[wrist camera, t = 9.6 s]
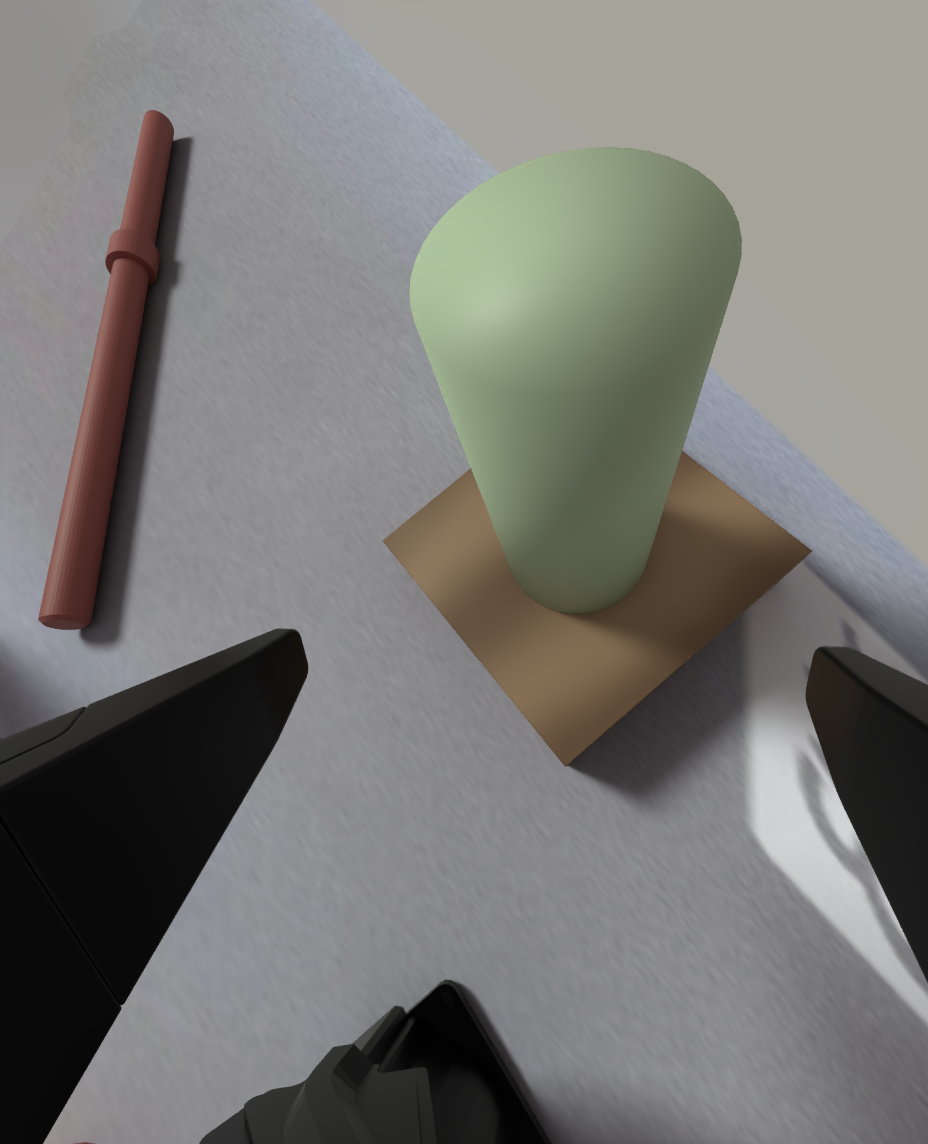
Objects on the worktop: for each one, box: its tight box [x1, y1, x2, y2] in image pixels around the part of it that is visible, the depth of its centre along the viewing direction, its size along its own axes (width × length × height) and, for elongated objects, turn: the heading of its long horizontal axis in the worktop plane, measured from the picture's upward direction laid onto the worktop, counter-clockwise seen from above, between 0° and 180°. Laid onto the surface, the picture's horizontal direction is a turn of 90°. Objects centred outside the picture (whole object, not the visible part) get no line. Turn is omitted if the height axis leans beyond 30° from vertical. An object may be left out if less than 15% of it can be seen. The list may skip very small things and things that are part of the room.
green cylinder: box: [410, 147, 742, 614], centre depth 15 cm, size 6×6×13 cm
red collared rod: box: [38, 110, 174, 630], centre depth 36 cm, size 45×3×3 cm, turn 6°
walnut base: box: [383, 451, 812, 766], centre depth 22 cm, size 12×12×3 cm
